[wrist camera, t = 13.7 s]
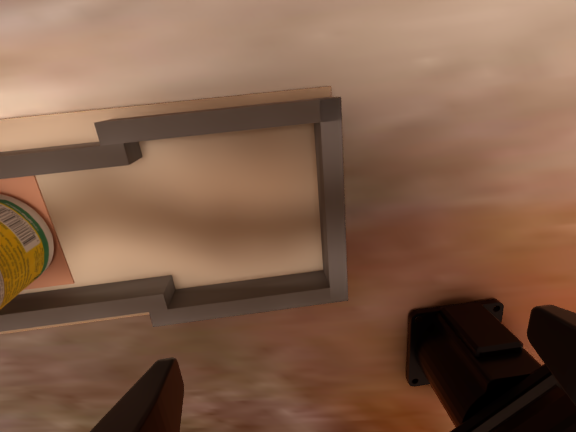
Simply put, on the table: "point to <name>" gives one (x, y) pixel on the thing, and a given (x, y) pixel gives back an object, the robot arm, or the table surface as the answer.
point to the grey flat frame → (182, 208)
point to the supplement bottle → (21, 247)
